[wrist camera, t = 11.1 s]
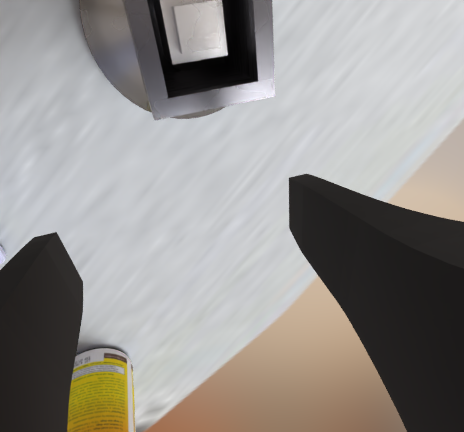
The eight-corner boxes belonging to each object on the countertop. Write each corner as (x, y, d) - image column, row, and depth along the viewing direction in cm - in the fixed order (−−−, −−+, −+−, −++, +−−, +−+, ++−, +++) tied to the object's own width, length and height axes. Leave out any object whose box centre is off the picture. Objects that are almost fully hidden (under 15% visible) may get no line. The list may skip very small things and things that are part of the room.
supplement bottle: (49, 360, 26) (17, 526, 18) (118, 335, 27) (118, 484, 18) (80, 394, 29) (65, 547, 21) (141, 371, 30) (150, 510, 22)
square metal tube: (145, 92, 17) (154, 120, 13) (114, -31, 14) (113, -45, 10) (238, 74, 17) (275, 96, 13) (227, -44, 15) (270, -63, 11)
